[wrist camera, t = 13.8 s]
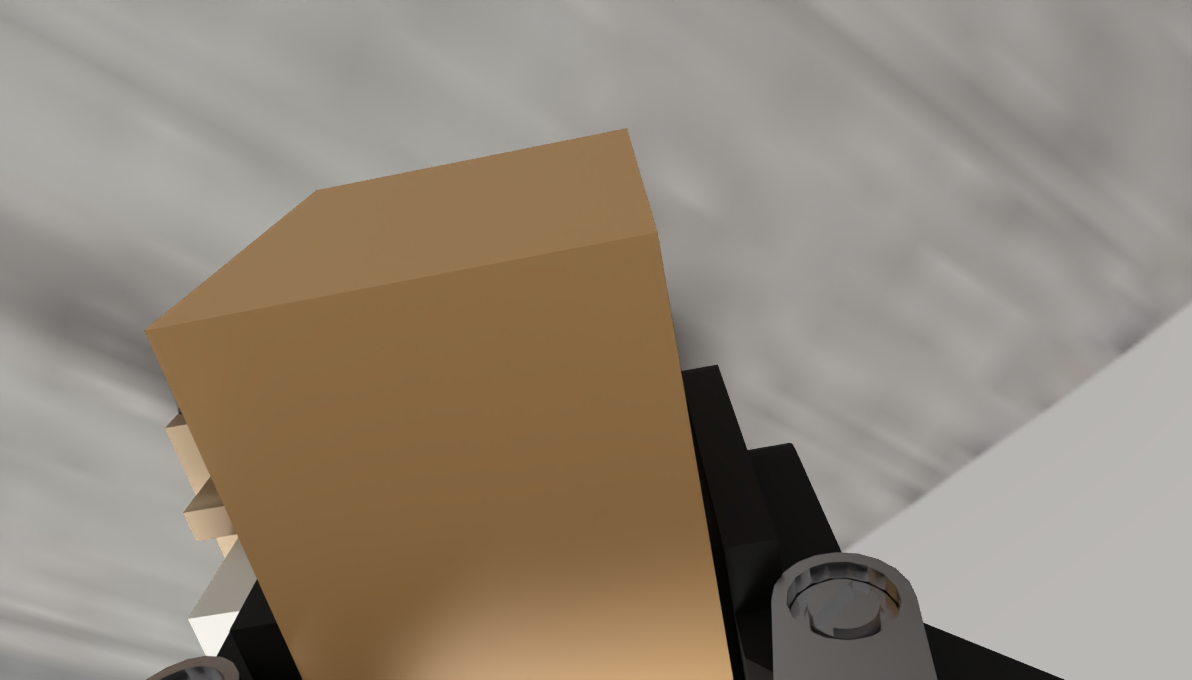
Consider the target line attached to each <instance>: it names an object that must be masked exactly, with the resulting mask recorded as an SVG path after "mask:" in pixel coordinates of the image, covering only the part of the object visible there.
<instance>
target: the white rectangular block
mask: <svg viewBox="0 0 1192 680" xmlns="http://www.w3.org/2000/svg"><path fill="white" fill-rule="evenodd" d="M256 580H257V578H256V575H255V573H254V571H253V569H252V567H251V564H250V562H249V560H248V558H247V556H246V553H245V551H244V549H243V547H242V545H241V542H240V540H239V538H237V540H236V542H235V543H234V545H233V547H232V548H231V550H230V551H229V553H228V555H227V556H226V558H225V560H224V561H223V563H222V565H221V566H220V568H219V569H218V571H217V573H216V574H215V576H214V578H213V579H212V581H211V582H210V584H209V586H208V587H207V589H206V591H205V592H204V594H203V595H202V597H201V599H200V600H199V602H198V604H197V605H196V607H195V608H194V610H193V612H192V613H191V615H190V617H189V618H188V620H189V622H190V624H191V626H192V628H193V630H194V632H195V634H196V636H197V638H198V640H199V642H200V644H201V646H202V648H203V650H204V652H205V654H206V656H217V654H218V652H219V651H220V649H221V647H222V645H223V643H224V641H225V639H226V637H227V636H228V634H229V632H230V631H229V630H230V628H231V626H232V624H233V623H234V621H235V619H236V617H237V615H238V613H239V611H240V610H241V608H242V606H243V604H244V602H245V600H246V598H247V596H248V595H249V593H250V591H251V589H252V587H253V585H254V583H255V582H256Z"/></svg>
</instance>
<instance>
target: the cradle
mask: <svg viewBox="0 0 1192 680" xmlns="http://www.w3.org/2000/svg"><path fill="white" fill-rule="evenodd" d="M165 429H166V431H167V434H168V436H169V438H170V440H171V442H172V444H173V447H174V449H175V451H176V453H177V455H178V457H179V459H180V462H181V464H182V466H183V468H184V470H185V472H186V475H187V477H188V479H189V481H190V483H191V485H192V488H193V490H194V492H195V494H196V496H195V498H194V499H193V500H192V502H191V503H190V504H189V506H188V507H187V508H186V510H185V511H184V513H183V514H184V516H185V518H186V520H187V522H188V524H189V526H190V528H191V530H192V533H193V535H194V537H195V539H196V541H200V540H206V539H212V538H216V539H217V542H218V544H219V546H220V548H221V550H222V552H223V555H224V557H225V558H226V556H227V555H228V553H229V551H230V550H231V548H232V547H233V545H234V543H235V542H236V540H237V538H238V536H237V534H236V531H235V529H234V527H233V525H232V522H231V520H230V518H229V516H228V514H227V511H226V509H225V507H224V505H223V503H222V500H221V498H220V496H219V494H218V492H217V489H216V487H215V485H214V483H213V481H212V478H211V476H210V474H209V472H208V470H207V467H206V465H205V463H204V461H203V459H202V456H201V454H200V452H199V450H198V448H197V445H196V443H195V441H194V439H193V437H192V434H191V432H190V430H189V428H188V426H187V423H186V421H185V419H184V417H183V414H178V415H177V416H176V417H175V418H174V419H173V420H172V421H171V422H170V423H169V424H168V426H167V427H166V428H165Z"/></svg>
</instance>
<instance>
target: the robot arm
mask: <svg viewBox="0 0 1192 680" xmlns="http://www.w3.org/2000/svg"><path fill="white" fill-rule="evenodd" d="M681 374H682V380H683V386H684V392H685V398H686V404H687V410H688V416H689V421H690V427H691V433H692V439H693V445H694V451H695V457H696V463H697V469H698V475H699V480H700V486H701V492H702V498H703V504H704V510H705V516H706V522H707V528H708V534H709V540H710V545H711V551H712V557H713V563H714V569H715V575H716V581H717V587H718V593H719V599H720V604H721V610H722V616H723V622H724V628H725V634H726V640H727V646H728V652H729V658H730V663H731V669H732V675H733V680H1064V679H1061V678H1059V677H1056V676H1054V675H1052V674H1049V673H1047V672H1044V671H1041V670H1039V669H1037V668H1034V667H1032V666H1029V665H1027V664H1024V663H1022V662H1019V661H1017V660H1014V659H1012V658H1009V657H1007V656H1004V655H1002V654H1000V653H997V652H995V651H992V650H990V649H987V648H985V647H982V646H980V645H977V644H974V643H972V642H970V641H967V640H965V639H962V638H960V637H957V636H955V635H952V634H950V633H947V632H945V631H943V630H940V629H937V628H935V627H932V626H930V625H928V624H925V623H923V620H922V616H921V612H920V608H919V604H918V600H917V596H916V594H915V592H914V590H913V588H912V586H911V584H910V582H909V581H908V580H907V579H906V578H905V577H904V576H903V575H902V574H901V573H900V572H899V571H898V570H897V569H896V568H894V567H892V566H890V565H888V564H886V563H884V562H883V561H881V560H879V559H876V558H872V557H868V556H865V555H861V554H856V553H842V552H841V550H840V547H839V545H838V543H837V541H836V539H835V536H834V534H833V532H832V530H831V527H830V525H829V523H828V521H827V519H826V516H825V514H824V512H823V510H822V507H821V505H820V503H819V501H818V498H817V496H816V494H815V492H814V490H813V487H812V485H811V483H810V481H809V478H808V476H807V474H806V472H805V469H804V467H803V465H802V463H801V461H800V458H799V456H798V454H797V452H796V450H795V448H794V446H793V444H791V443H786V444H781V445H775V446H769V447H763V448H757V449H752V450H747V447H746V445H745V442H744V439H743V436H742V433H741V430H740V427H739V424H738V422H737V419H736V416H735V413H734V410H733V407H732V404H731V401H730V399H729V396H728V393H727V390H726V387H725V384H724V381H723V378H722V375H721V373H720V370H719V367H718V365H713V366H707V367H702V368H696V369H691V370H685V371H681ZM229 631H230V632H229V634H228V636H227V637H226V639H225V641H224V643H223V645H222V647H221V649H220V651H219V652H218V654H217V656H203V657H197V658H192V659H187V660H185V661H182V662H180V663H177V664H174V665H172V666H169V667H167V668H165V669H163V670H162V671H160V672H158V673H157V674H155V675H153V676H151V677H150V678H148V679H146V680H303V679H302V677H301V675H300V672H299V670H298V668H297V666H296V664H295V661H294V659H293V657H292V655H291V653H290V650H289V648H288V646H287V644H286V641H285V639H284V637H283V635H282V633H281V630H280V628H279V626H278V624H277V622H276V619H275V617H274V615H273V613H272V611H271V608H270V606H269V604H268V602H267V600H266V597H265V595H264V593H263V591H262V589H261V586H260V584H259V582H258V580H256V582H255V583H254V585H253V587H252V589H251V591H250V593H249V595H248V596H247V598H246V600H245V602H244V604H243V606H242V608H241V610H240V611H239V613H238V615H237V617H236V619H235V621H234V623H233V624H232V626H231V628H230V630H229Z"/></svg>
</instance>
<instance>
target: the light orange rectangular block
mask: <svg viewBox="0 0 1192 680" xmlns="http://www.w3.org/2000/svg"><path fill="white" fill-rule="evenodd" d="M144 331H145V333H146V335H147V337H148V340H149V342H150V344H151V346H152V348H153V351H154V353H155V355H156V357H157V359H158V362H159V364H160V366H161V368H162V370H163V373H164V375H165V377H166V379H167V381H168V384H169V386H170V388H171V390H172V392H173V395H174V397H175V399H176V401H177V403H178V406H179V408H180V410H181V412H182V414H183V417H184V419H185V421H186V423H187V426H188V428H189V430H190V432H191V434H192V437H193V439H194V441H195V443H196V445H197V448H198V450H199V452H200V454H201V456H202V459H203V461H204V463H205V465H206V467H207V470H208V472H209V474H210V476H211V478H212V481H213V483H214V485H215V487H216V489H217V492H218V494H219V496H220V498H221V500H222V503H223V505H224V507H225V509H226V511H227V514H228V516H229V518H230V520H231V522H232V525H233V527H234V529H235V531H236V534H237V536H238V538H239V540H240V542H241V545H242V547H243V549H244V551H245V553H246V556H247V558H248V560H249V562H250V564H251V567H252V569H253V571H254V573H255V575H256V578H257V580H258V582H259V584H260V586H261V589H262V591H263V593H264V595H265V597H266V600H267V602H268V604H269V606H270V608H271V611H272V613H273V615H274V617H275V619H276V622H277V624H278V626H279V628H280V630H281V633H282V635H283V637H284V639H285V641H286V644H287V646H288V648H289V650H290V653H291V655H292V657H293V659H294V661H295V664H296V666H297V668H298V670H299V672H300V675H301V677H302V679H303V680H733V675H732V669H731V663H730V658H729V652H728V646H727V640H726V634H725V628H724V622H723V616H722V610H721V604H720V599H719V593H718V587H717V581H716V575H715V569H714V563H713V557H712V551H711V545H710V540H709V534H708V528H707V522H706V516H705V510H704V504H703V498H702V492H701V486H700V480H699V475H698V469H697V463H696V457H695V451H694V445H693V439H692V433H691V427H690V421H689V416H688V410H687V404H686V398H685V392H684V386H683V380H682V374H681V368H680V362H679V357H678V351H677V345H676V339H675V333H674V327H673V321H672V315H671V309H670V303H669V298H668V292H667V286H666V280H665V274H664V268H663V262H662V256H661V250H660V244H659V239H658V233H657V229H656V226H655V222H654V219H653V216H652V212H651V209H650V205H649V202H648V199H647V195H646V192H645V188H644V185H643V182H642V178H641V175H640V171H639V168H638V165H637V161H636V158H635V154H634V151H633V148H632V144H631V141H630V137H629V134H628V131H627V128H626V129H621V130H616V131H611V132H606V133H601V134H596V135H591V136H586V137H581V138H576V139H571V140H566V141H561V142H556V143H551V144H546V145H541V146H536V147H531V148H526V149H521V150H516V151H511V152H506V153H501V154H496V155H491V156H486V157H481V158H476V159H471V160H466V161H461V162H456V163H451V164H446V165H441V166H436V167H431V168H426V169H421V170H416V171H411V172H406V173H401V174H396V175H391V176H386V177H381V178H376V179H371V180H366V181H361V182H356V183H351V184H346V185H341V186H336V187H331V188H326V189H321V190H316V191H315V192H314V193H312V194H311V195H310V196H309V197H308V198H306V199H305V200H304V201H303V202H301V203H300V204H299V205H298V206H296V207H295V208H294V209H293V210H292V211H290V212H289V213H288V214H287V215H285V216H284V217H283V218H282V219H281V220H279V221H278V222H277V223H276V224H274V225H273V226H272V227H271V228H270V229H268V230H267V231H266V232H265V233H263V234H262V235H261V236H260V237H258V238H257V239H256V240H255V241H254V242H252V243H251V244H250V245H249V246H247V247H246V248H245V249H244V250H243V251H241V252H240V253H239V254H238V255H236V256H235V257H234V258H233V259H232V260H230V261H229V262H228V263H227V264H225V265H224V266H223V267H222V268H220V269H219V270H218V271H217V272H216V273H214V274H213V275H212V276H211V277H209V278H208V279H207V280H206V281H205V282H203V283H202V284H201V285H200V286H198V287H197V288H196V289H195V290H193V291H192V292H191V293H190V294H189V295H187V296H186V297H185V298H184V299H182V300H181V301H180V302H179V303H178V304H176V305H175V306H174V307H173V308H171V309H170V310H169V311H168V312H167V313H165V314H164V315H163V316H162V317H160V318H159V319H158V320H157V321H155V322H154V323H153V324H152V325H151V326H149V327H148V328H147V329H146V330H144Z"/></svg>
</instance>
